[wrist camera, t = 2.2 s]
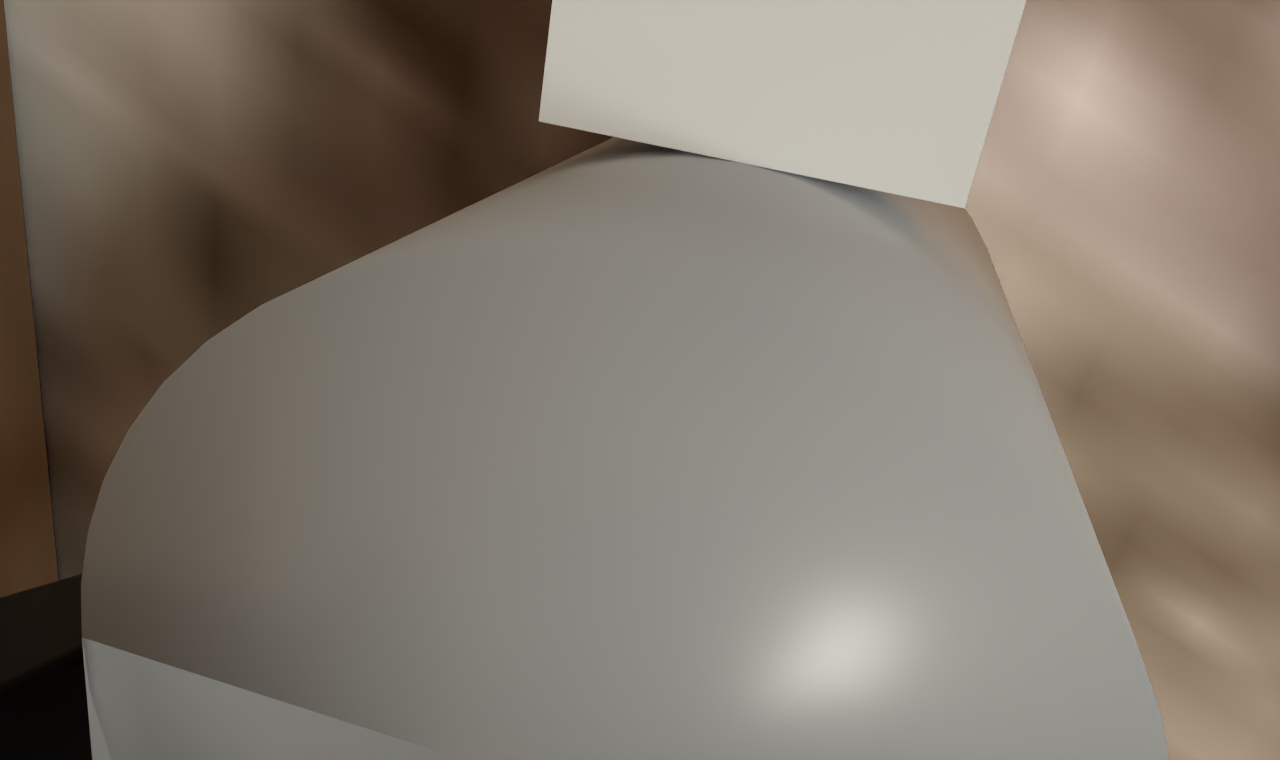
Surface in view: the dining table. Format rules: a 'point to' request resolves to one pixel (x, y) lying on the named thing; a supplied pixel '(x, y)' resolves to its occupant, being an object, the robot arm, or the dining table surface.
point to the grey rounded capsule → (638, 446)
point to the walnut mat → (19, 382)
